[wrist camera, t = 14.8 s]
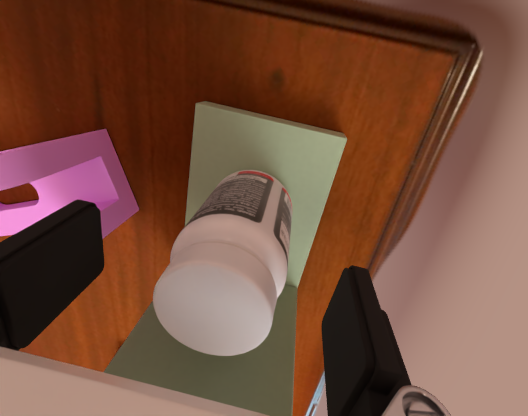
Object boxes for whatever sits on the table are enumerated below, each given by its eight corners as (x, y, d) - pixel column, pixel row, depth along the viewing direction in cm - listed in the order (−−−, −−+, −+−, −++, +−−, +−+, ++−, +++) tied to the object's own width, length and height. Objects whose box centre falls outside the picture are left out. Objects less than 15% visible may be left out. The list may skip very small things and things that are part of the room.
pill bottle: (198, 208, 17) (114, 311, 10) (245, 150, 15) (186, 221, 8) (258, 254, 18) (224, 383, 10) (310, 205, 16) (314, 318, 8)
